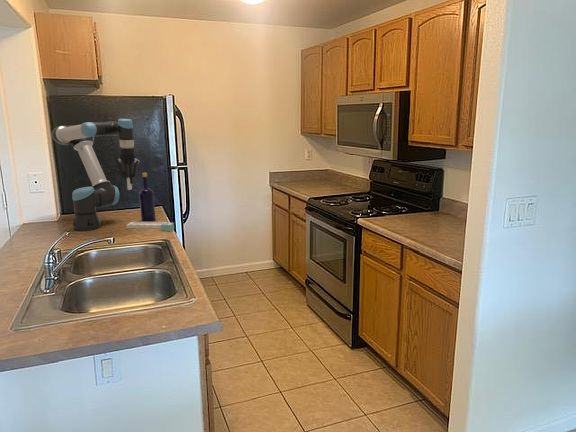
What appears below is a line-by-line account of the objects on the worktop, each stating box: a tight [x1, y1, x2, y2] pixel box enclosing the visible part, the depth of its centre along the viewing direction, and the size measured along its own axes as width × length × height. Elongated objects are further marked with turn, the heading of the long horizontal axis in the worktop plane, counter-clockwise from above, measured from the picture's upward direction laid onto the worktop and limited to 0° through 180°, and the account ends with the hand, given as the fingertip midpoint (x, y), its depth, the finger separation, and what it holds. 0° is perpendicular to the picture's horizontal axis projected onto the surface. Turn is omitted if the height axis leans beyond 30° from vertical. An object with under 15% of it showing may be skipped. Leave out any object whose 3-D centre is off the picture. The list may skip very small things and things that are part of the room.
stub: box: [160, 222, 175, 232], centre depth 246 cm, size 6×5×4 cm
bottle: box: [138, 172, 157, 222], centre depth 266 cm, size 9×9×30 cm
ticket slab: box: [125, 221, 169, 230], centre depth 254 cm, size 22×8×2 cm, turn 87°
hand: (129, 189), depth 244 cm, fingers closed
